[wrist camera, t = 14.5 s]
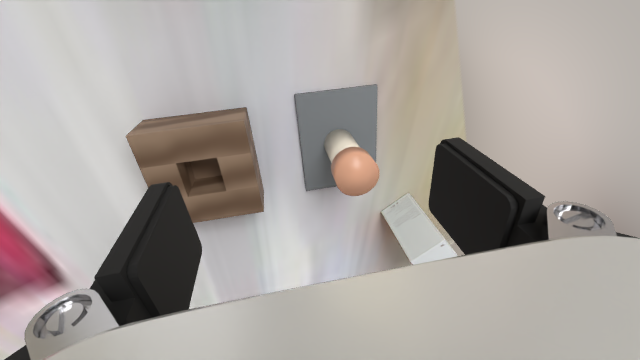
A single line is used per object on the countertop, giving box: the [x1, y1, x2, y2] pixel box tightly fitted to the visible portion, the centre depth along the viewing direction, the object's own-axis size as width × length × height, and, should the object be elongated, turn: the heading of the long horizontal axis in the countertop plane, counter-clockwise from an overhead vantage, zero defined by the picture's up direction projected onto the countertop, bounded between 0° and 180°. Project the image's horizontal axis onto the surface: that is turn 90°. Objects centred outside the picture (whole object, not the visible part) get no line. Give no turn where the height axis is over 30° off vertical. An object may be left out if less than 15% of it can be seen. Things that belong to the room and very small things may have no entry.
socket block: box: [126, 107, 264, 223], centre depth 42 cm, size 14×14×6 cm
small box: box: [381, 193, 457, 265], centre depth 51 cm, size 8×6×13 cm
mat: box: [295, 84, 377, 191], centre depth 47 cm, size 16×12×1 cm
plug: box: [324, 129, 379, 196], centre depth 42 cm, size 6×6×11 cm
